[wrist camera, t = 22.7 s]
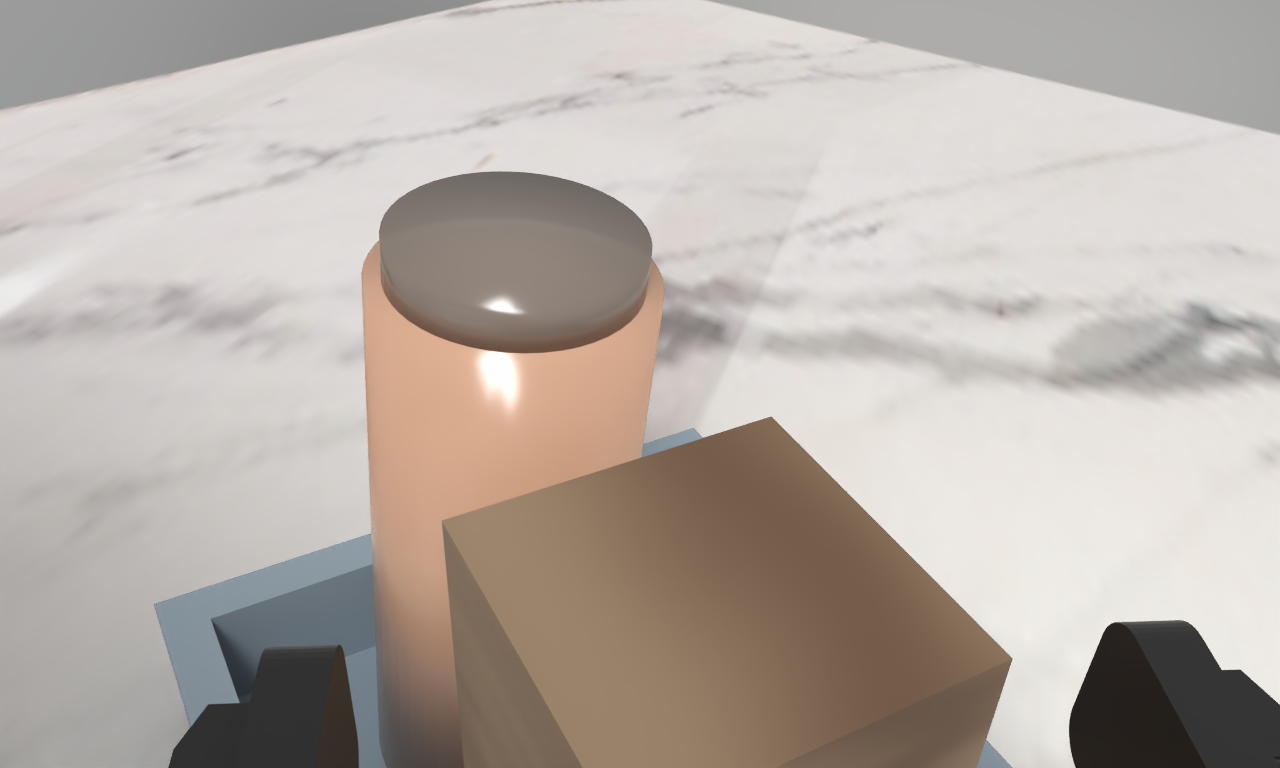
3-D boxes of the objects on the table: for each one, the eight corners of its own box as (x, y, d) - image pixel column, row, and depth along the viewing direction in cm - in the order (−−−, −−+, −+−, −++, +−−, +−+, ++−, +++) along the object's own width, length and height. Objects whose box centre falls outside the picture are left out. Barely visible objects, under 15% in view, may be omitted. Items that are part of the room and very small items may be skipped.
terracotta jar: (375, 831, 24) (352, 319, 17) (381, 643, 28) (365, 159, 20) (613, 815, 25) (696, 322, 17) (587, 635, 29) (646, 168, 21)
